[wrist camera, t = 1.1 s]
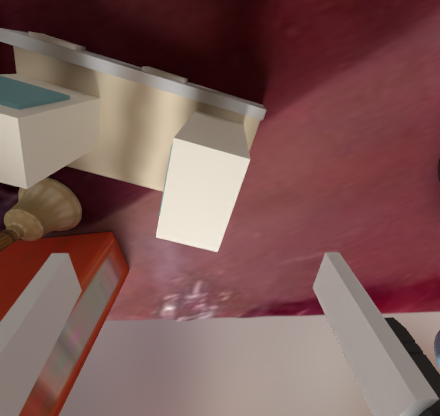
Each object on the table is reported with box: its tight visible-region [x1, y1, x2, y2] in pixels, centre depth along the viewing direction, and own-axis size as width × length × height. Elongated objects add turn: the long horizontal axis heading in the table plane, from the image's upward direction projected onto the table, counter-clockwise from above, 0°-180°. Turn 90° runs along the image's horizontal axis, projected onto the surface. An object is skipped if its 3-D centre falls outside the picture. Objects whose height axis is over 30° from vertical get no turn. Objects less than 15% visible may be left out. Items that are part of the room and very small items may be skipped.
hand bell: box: [0, 177, 82, 252], centre depth 27 cm, size 8×8×16 cm
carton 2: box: [156, 110, 250, 252], centre depth 22 cm, size 8×5×11 cm, turn 165°
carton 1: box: [0, 74, 100, 189], centre depth 21 cm, size 8×5×11 cm, turn 75°
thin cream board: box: [0, 28, 266, 191], centre depth 26 cm, size 24×12×4 cm, turn 75°
